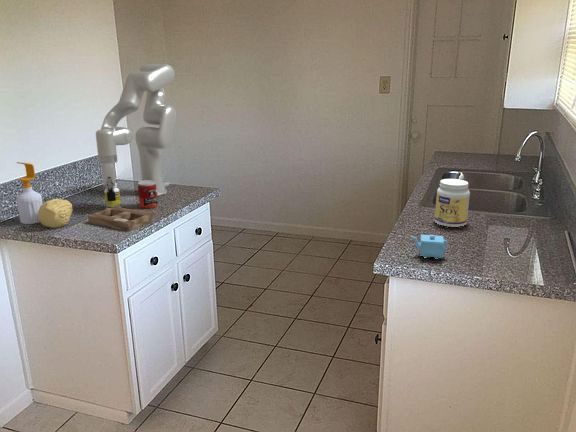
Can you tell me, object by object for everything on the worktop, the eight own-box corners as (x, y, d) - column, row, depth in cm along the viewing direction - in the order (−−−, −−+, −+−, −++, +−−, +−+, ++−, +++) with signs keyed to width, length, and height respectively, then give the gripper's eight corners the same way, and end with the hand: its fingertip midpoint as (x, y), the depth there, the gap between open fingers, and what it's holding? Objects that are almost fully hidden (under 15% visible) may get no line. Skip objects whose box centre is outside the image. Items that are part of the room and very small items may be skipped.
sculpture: (58, 231, 203) (54, 204, 199) (33, 228, 207) (29, 201, 203) (79, 222, 213) (75, 196, 209) (55, 219, 217) (51, 194, 213)
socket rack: (115, 213, 224) (114, 205, 223) (154, 220, 214) (153, 213, 213) (88, 222, 212) (87, 214, 211) (129, 231, 202) (128, 223, 201)
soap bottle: (15, 223, 212) (4, 163, 205) (33, 216, 220) (23, 158, 213) (33, 225, 209) (22, 164, 202) (50, 218, 217) (41, 160, 210)
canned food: (145, 210, 227) (142, 185, 224) (136, 206, 233) (134, 182, 230) (161, 206, 232) (159, 182, 229) (152, 202, 238) (150, 179, 234)
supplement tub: (432, 226, 204) (435, 184, 198) (436, 217, 214) (439, 176, 209) (465, 230, 199) (470, 187, 194) (467, 220, 210) (472, 179, 205)
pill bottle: (116, 210, 227) (113, 185, 224) (103, 209, 228) (100, 185, 225) (123, 206, 233) (121, 182, 230) (110, 205, 234) (108, 181, 231)
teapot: (409, 258, 174) (410, 237, 172) (409, 251, 180) (410, 230, 178) (447, 261, 172) (449, 239, 169) (446, 254, 177) (448, 233, 175)
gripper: (99, 155, 231) (103, 193, 236) (97, 163, 215) (102, 204, 220) (117, 154, 233) (121, 192, 238) (116, 162, 217) (120, 202, 222)
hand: (112, 197), depth 229 cm, fingers open, 9 cm apart
